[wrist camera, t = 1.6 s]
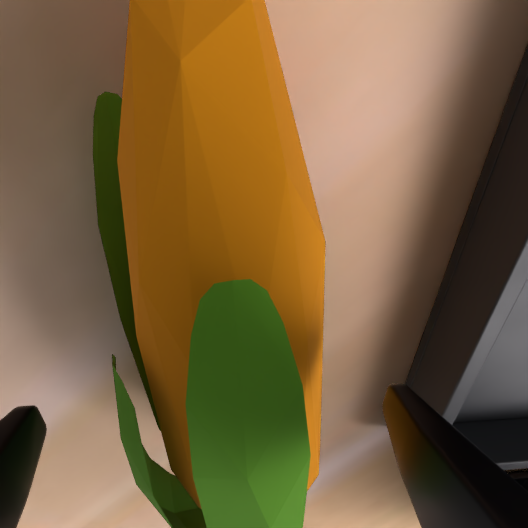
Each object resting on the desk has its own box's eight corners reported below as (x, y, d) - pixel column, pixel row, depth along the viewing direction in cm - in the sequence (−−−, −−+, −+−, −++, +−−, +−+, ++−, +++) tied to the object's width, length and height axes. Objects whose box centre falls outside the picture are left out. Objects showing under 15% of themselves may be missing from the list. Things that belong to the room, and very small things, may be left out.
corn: (155, 629, 13) (-562, -372, 2) (169, 434, 19) (17, -48, 8) (350, 582, 13) (567, -289, 3) (301, 411, 20) (311, -52, 9)
